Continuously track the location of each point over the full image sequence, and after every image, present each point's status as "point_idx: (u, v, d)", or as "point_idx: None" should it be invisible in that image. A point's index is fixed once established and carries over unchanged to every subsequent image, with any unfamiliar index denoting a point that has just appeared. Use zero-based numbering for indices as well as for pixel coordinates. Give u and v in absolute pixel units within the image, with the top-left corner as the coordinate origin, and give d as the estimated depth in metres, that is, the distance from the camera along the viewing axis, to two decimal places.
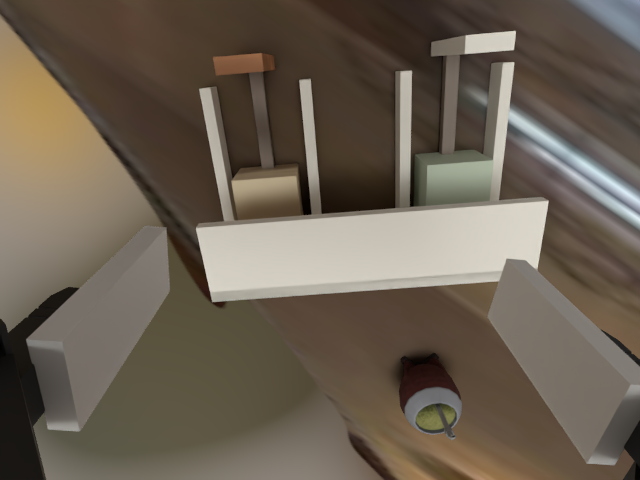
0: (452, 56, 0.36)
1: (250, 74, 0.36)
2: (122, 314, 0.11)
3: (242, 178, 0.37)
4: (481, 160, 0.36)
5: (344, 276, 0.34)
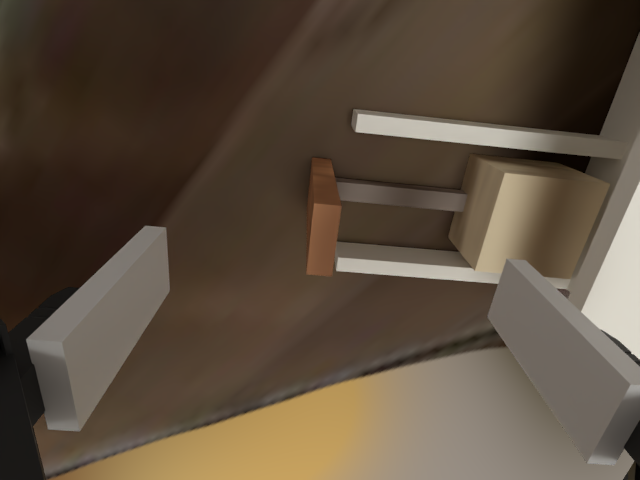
0: None
1: None
2: (122, 314, 0.11)
3: (475, 252, 0.24)
4: None
5: None
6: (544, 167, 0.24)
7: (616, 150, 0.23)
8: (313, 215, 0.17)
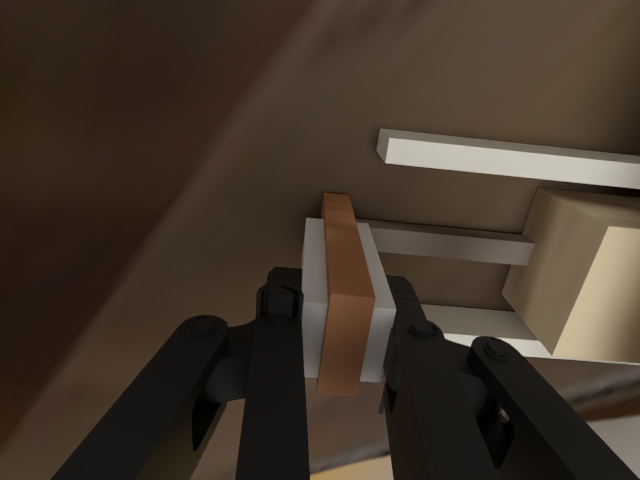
0: None
1: None
2: None
3: (551, 329, 0.17)
4: None
5: None
6: None
7: None
8: (329, 311, 0.11)
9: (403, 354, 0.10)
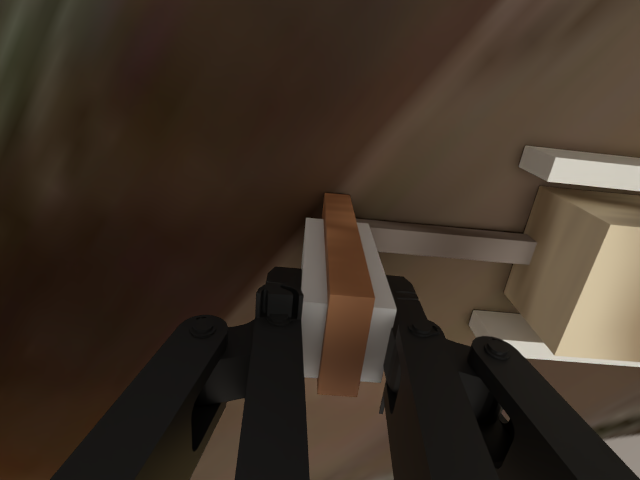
0: None
1: None
2: None
3: (553, 328, 0.17)
4: None
5: None
6: None
7: None
8: (329, 311, 0.11)
9: (403, 354, 0.10)
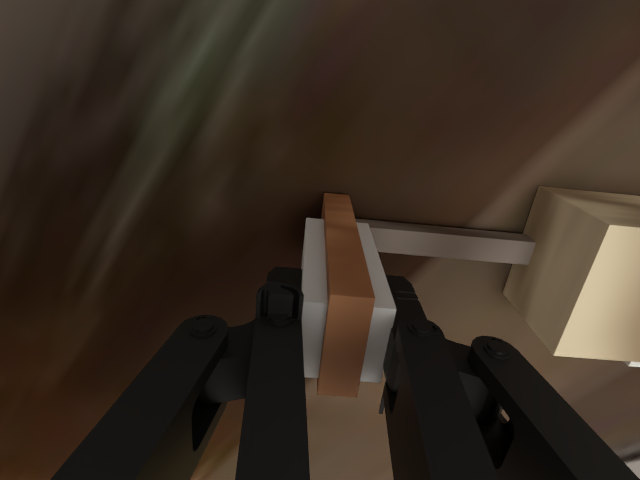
0: None
1: None
2: None
3: (552, 328, 0.17)
4: None
5: None
6: None
7: None
8: (329, 311, 0.11)
9: (403, 354, 0.10)
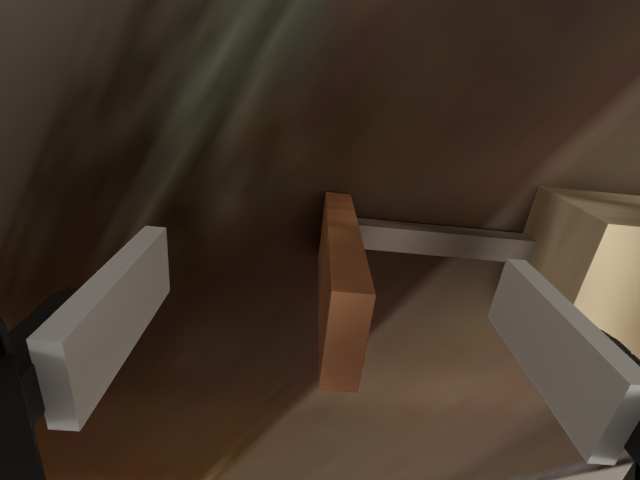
0: None
1: None
2: (122, 314, 0.11)
3: None
4: None
5: None
6: None
7: None
8: (330, 308, 0.11)
9: None
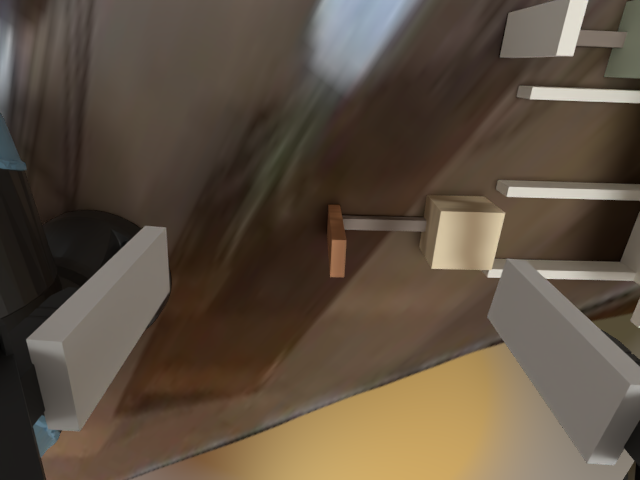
0: None
1: None
2: (122, 314, 0.11)
3: (431, 257, 0.39)
4: None
5: None
6: (471, 202, 0.39)
7: None
8: (332, 245, 0.33)
9: None
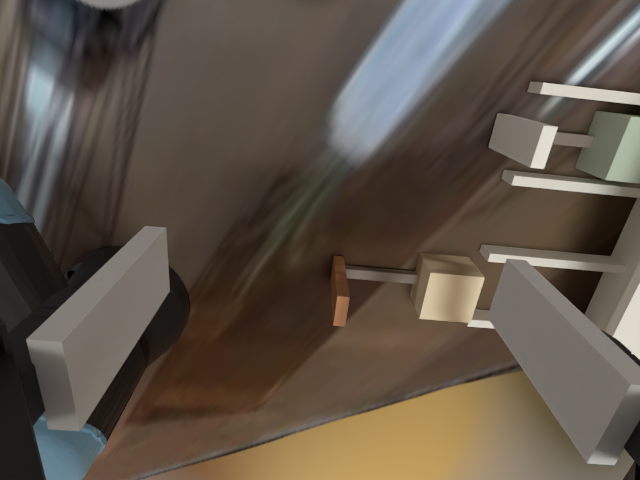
0: None
1: None
2: (122, 314, 0.11)
3: (419, 308, 0.45)
4: (624, 127, 0.37)
5: None
6: (456, 263, 0.45)
7: (619, 269, 0.45)
8: (337, 300, 0.39)
9: None
